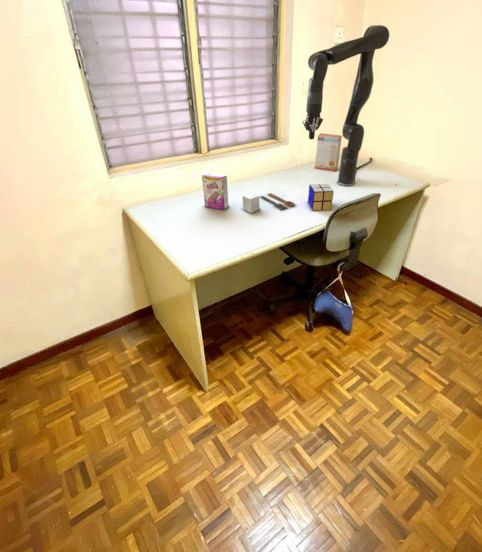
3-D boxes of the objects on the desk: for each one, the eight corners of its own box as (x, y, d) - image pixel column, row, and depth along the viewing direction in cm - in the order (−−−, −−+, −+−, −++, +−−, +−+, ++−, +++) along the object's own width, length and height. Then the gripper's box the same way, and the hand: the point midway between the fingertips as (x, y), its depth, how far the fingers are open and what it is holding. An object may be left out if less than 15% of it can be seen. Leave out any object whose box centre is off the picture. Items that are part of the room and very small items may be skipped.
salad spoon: (272, 193, 182) (272, 192, 182) (296, 205, 170) (296, 204, 170) (266, 195, 180) (266, 194, 179) (290, 207, 168) (290, 206, 168)
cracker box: (337, 168, 217) (342, 135, 205) (335, 171, 213) (339, 137, 200) (317, 165, 222) (320, 132, 209) (314, 168, 217) (317, 134, 205)
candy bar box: (204, 207, 167) (201, 175, 157) (209, 203, 171) (206, 171, 161) (224, 210, 164) (222, 178, 154) (229, 206, 168) (227, 174, 158)
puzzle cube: (307, 202, 174) (309, 184, 168) (326, 201, 175) (328, 183, 169) (312, 210, 166) (313, 191, 160) (331, 210, 167) (334, 191, 161)
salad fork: (264, 196, 179) (264, 195, 179) (287, 208, 167) (287, 207, 167) (258, 198, 177) (258, 197, 177) (281, 210, 165) (281, 209, 165)
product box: (259, 209, 166) (259, 195, 161) (250, 213, 162) (250, 199, 158) (251, 205, 169) (251, 192, 165) (242, 209, 166) (242, 195, 161)
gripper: (310, 104, 157) (307, 142, 167) (329, 101, 164) (325, 138, 174) (299, 102, 162) (297, 139, 172) (318, 99, 169) (315, 135, 179)
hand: (311, 138), depth 173 cm, fingers closed
